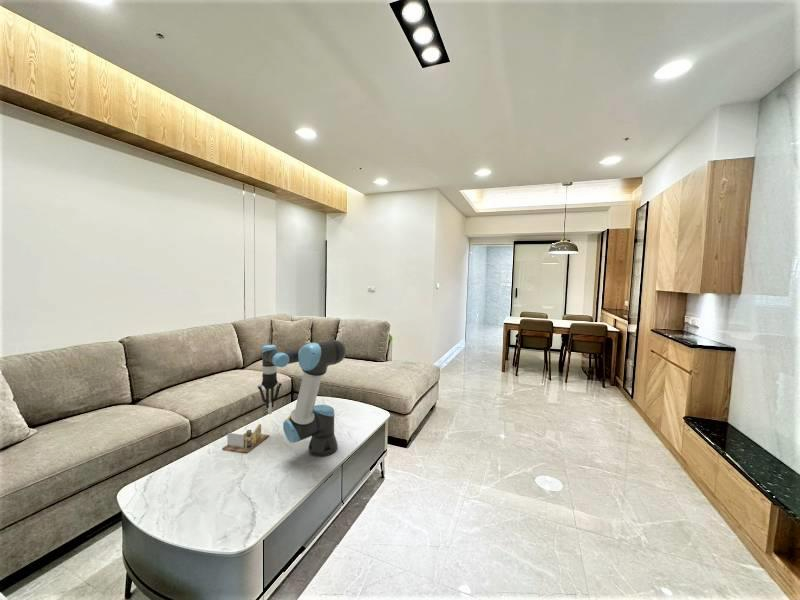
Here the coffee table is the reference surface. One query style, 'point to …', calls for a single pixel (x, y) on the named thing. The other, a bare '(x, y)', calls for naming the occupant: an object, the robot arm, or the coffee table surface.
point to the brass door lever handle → (255, 435)
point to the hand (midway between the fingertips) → (269, 413)
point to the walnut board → (246, 450)
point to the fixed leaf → (238, 440)
